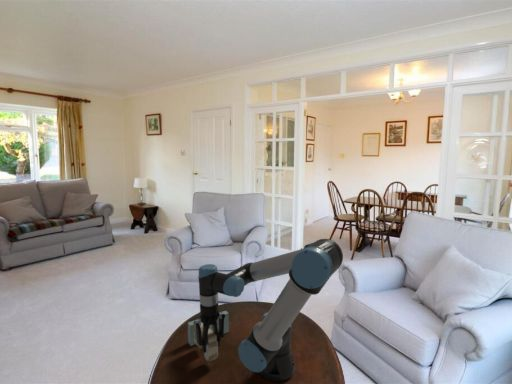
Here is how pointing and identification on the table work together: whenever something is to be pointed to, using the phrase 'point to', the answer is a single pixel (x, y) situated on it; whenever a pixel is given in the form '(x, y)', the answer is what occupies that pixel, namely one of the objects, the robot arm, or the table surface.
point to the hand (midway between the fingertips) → (211, 356)
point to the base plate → (226, 327)
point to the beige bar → (208, 342)
